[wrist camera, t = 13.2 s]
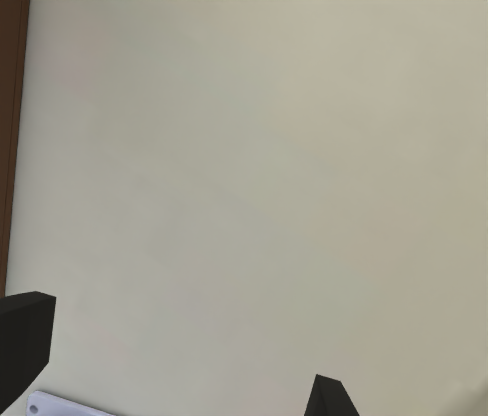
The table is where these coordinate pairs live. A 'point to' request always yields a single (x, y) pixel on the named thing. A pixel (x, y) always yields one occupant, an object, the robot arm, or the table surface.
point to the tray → (9, 111)
